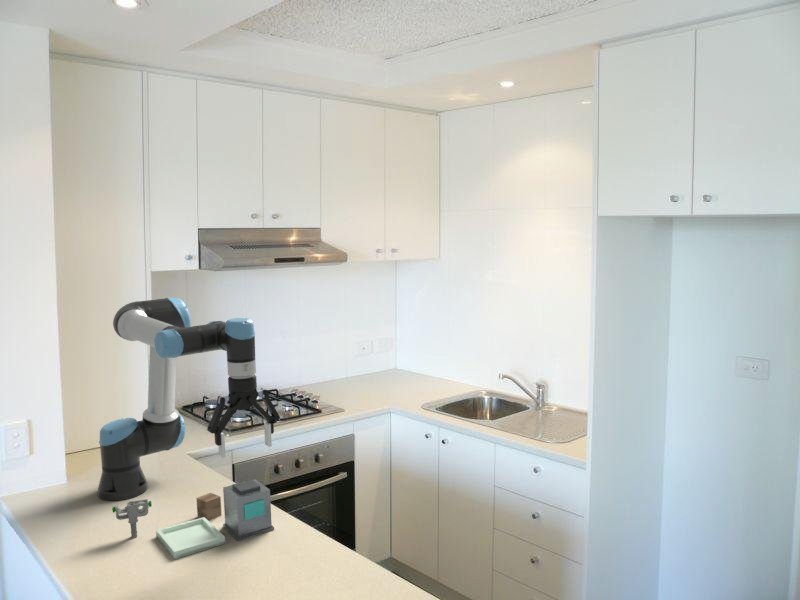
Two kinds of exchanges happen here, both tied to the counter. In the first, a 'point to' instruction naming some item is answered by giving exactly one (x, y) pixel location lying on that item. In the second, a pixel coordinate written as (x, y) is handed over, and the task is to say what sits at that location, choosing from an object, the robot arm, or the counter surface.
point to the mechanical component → (133, 513)
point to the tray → (190, 537)
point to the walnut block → (209, 506)
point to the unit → (247, 509)
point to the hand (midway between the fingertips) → (245, 450)
